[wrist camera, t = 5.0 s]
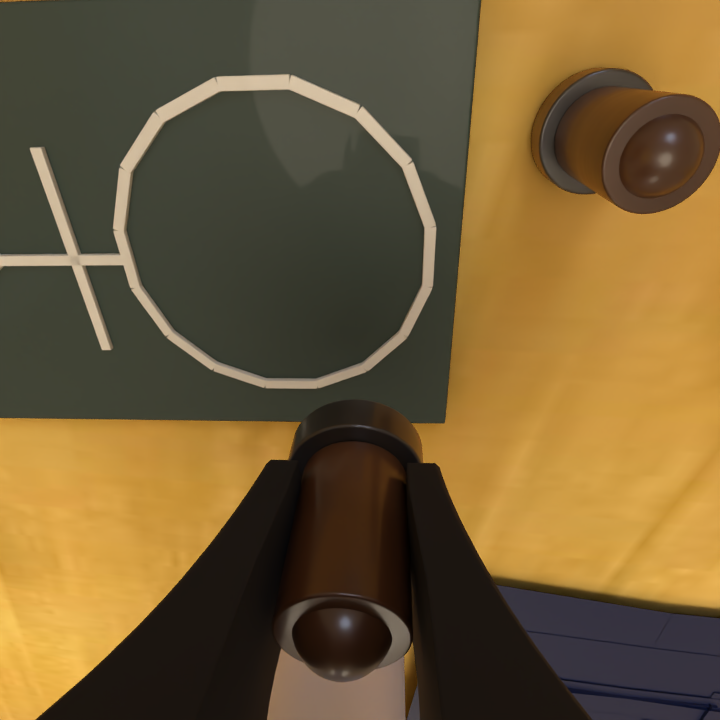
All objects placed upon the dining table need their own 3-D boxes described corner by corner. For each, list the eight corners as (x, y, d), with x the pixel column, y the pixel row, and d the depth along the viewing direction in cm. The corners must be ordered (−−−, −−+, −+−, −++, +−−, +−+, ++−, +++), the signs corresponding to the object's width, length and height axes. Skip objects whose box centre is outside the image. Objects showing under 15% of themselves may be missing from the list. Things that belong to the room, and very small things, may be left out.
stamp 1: (349, 511, 13) (328, 737, 9) (267, 439, 12) (195, 660, 8) (447, 459, 12) (481, 692, 8) (367, 374, 11) (351, 591, 6)
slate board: (-17, 406, 21) (-34, 421, 20) (-233, 14, 14) (-274, 11, 13) (443, 411, 20) (445, 427, 19) (478, -14, 13) (484, -19, 12)
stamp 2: (562, 208, 15) (631, 268, 11) (510, 122, 14) (564, 150, 10) (662, 139, 14) (785, 175, 10) (615, 39, 13) (731, 29, 9)
